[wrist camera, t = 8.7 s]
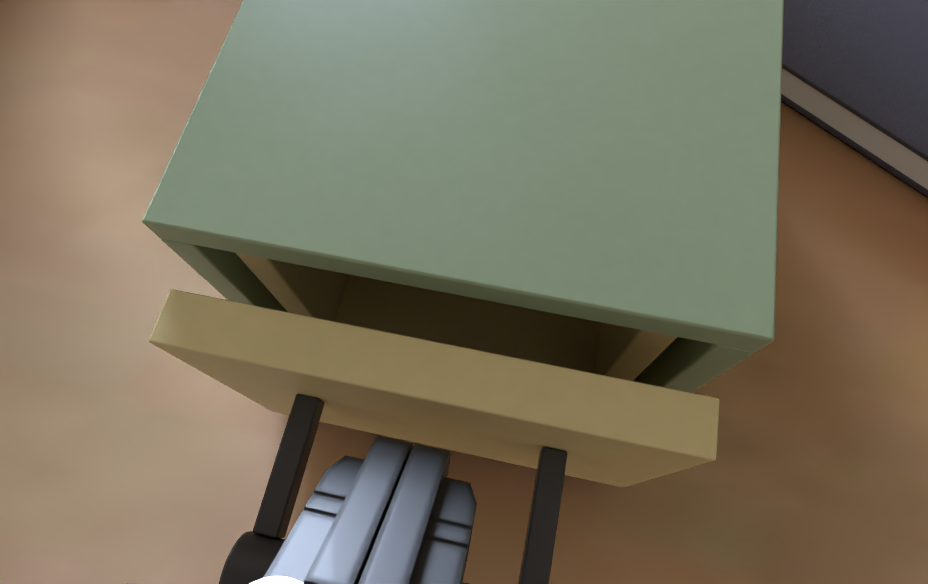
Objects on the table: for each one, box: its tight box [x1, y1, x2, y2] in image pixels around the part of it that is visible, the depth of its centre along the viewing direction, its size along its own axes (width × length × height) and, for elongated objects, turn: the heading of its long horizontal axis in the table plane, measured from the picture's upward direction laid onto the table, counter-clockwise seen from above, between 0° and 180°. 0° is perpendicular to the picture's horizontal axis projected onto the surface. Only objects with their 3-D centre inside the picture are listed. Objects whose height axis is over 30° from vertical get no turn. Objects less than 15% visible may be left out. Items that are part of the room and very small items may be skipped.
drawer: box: [149, 253, 720, 584], centre depth 17 cm, size 18×11×8 cm, turn 168°
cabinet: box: [142, 0, 784, 393], centre depth 19 cm, size 15×13×10 cm
